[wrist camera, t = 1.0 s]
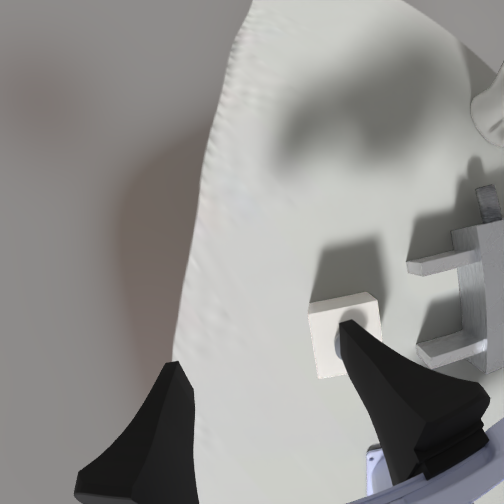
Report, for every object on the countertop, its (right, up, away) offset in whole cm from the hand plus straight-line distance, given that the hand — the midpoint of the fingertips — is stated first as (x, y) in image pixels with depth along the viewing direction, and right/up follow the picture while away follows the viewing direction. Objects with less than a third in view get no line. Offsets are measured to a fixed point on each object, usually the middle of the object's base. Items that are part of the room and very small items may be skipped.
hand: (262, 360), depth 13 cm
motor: (+19, +2, +10) cm, 21 cm away
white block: (+7, -2, +12) cm, 14 cm away
